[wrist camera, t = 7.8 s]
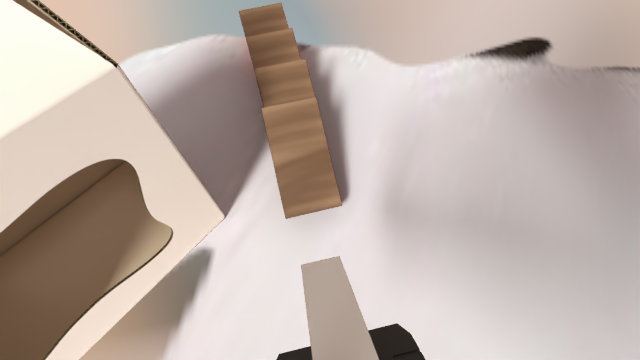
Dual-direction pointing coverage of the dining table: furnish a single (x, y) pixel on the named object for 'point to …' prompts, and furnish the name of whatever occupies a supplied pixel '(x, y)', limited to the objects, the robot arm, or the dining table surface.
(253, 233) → the dining table surface
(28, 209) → the gable box
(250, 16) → the domino
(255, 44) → the domino
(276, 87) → the domino
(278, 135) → the domino
